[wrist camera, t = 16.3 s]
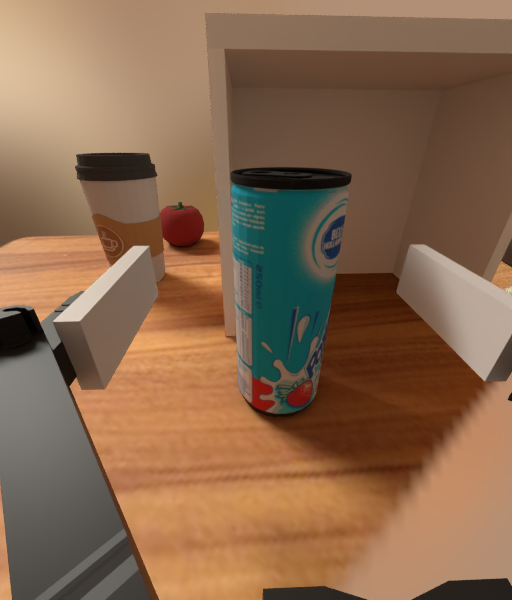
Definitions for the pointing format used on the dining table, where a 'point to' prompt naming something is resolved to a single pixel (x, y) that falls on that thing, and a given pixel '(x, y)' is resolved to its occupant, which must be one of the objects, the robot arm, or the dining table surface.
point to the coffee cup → (123, 203)
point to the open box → (372, 128)
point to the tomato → (181, 224)
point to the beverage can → (284, 279)
